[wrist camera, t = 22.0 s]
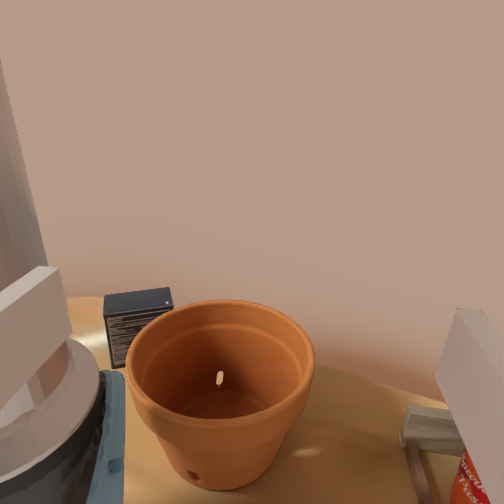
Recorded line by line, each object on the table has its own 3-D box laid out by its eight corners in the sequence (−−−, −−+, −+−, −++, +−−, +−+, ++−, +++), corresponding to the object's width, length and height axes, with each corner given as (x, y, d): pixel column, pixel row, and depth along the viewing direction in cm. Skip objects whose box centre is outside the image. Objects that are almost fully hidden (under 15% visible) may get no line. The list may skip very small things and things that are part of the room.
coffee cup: (424, 482, 44) (458, 386, 38) (484, 471, 45) (527, 378, 39) (475, 565, 36) (528, 463, 30) (545, 549, 38) (610, 448, 32)
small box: (173, 334, 67) (170, 284, 63) (178, 358, 62) (175, 305, 57) (111, 344, 64) (103, 292, 60) (110, 370, 59) (102, 315, 54)
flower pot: (101, 489, 42) (80, 390, 36) (183, 365, 60) (179, 286, 54) (284, 553, 37) (298, 451, 30) (312, 397, 55) (324, 314, 49)
